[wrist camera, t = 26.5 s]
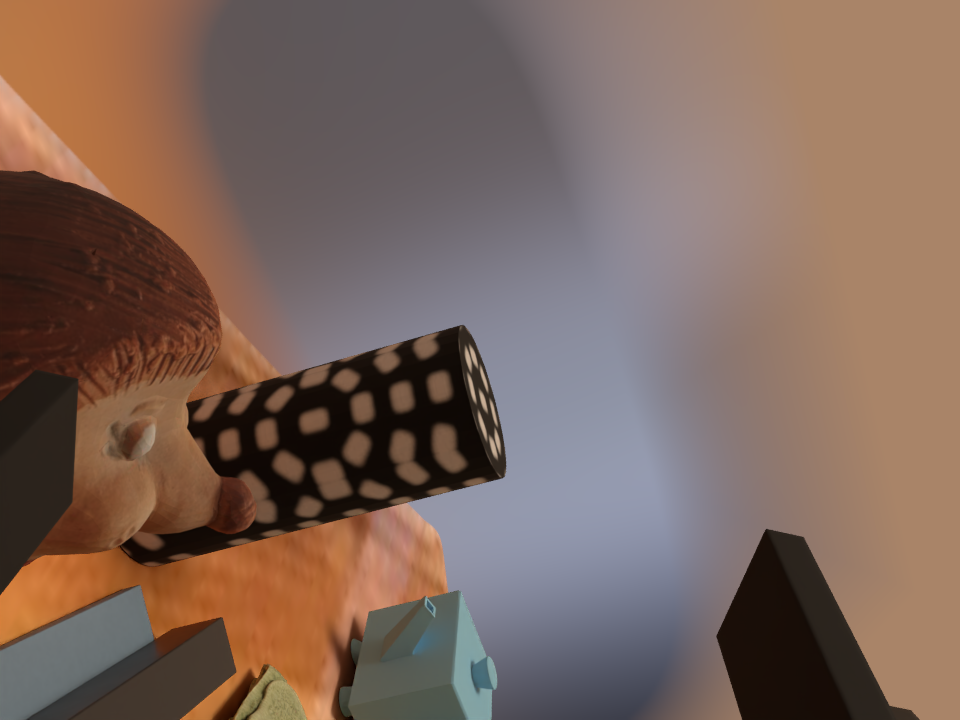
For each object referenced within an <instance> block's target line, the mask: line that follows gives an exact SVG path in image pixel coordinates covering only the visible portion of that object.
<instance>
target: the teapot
mask: <svg viewBox="0 0 960 720" xmlns="http://www.w3.org/2000/svg"><path fill="white" fill-rule="evenodd" d="M351 654H352V658H353V661H354V663H355V665H356V666H357V668H356V672H355V677H354V681H353V686H351V687H341V689H340V692H339V703H340V708H341V711H342V713H343V715H344V716H345V717H349V716H353V718H354V720H491V712H492V710H491V709H492V690H495V689H496V687H497V674H496V669H495V666H494V663H493V661H492V659H491V658H490V656H488V657H487V656H486V654H485V651H484V649H483V646H482V644H481V641H480V638H479V636H478V634H477V631H476V628H475V626H474V623H473V621H472V619H471V616H470V613H469V611H468V608H467V606H466V603H465V601H464V598H463V596H462V593H461V591H454V592H450V593H446V594H442V595H438V596H433V597H429V598H427V597H426V596H425V597H423V598H422V599H421V600H417V601H412V602H408V603H404V604H400V605H396V606H391V607H387V608H383V609H379V610H375V611H370V612H369V614H368V618H367V623H366V627H365V632H364V636H363V641H362V642H360V641H358V640H356V639H352V642H351Z"/></svg>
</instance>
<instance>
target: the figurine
mask: <svg viewBox="0 0 960 720" xmlns="http://www.w3.org/2000/svg"><path fill="white" fill-rule="evenodd" d="M221 338H222V330H221V324H220V316H219V310H218V306H217V303H216V300H215V298H214V296H213V294H212V292H211V290H210V288H209V286H208V284H207V282H206V280H205V278H204V277H203V275H202V274H201V273H200V271H199V270H198V268H197V267H196V265H195V264H194V262H193V261H192V260H191V258H190V257H189V256H188V255H187V254H186V253H185V252H184V251H183V250H182V249H181V248H180V247H179V246H178V245H177V244H176V243H175V242H174V241H173V240H172V239H171V238H170V237H169V236H167V235H166V234H165V233H164V232H163V231H161V230H160V229H159V228H157V227H156V226H154V225H153V224H151V223H150V222H149V221H147V220H146V219H145V218H143V217H142V216H140V215H139V214H137V213H136V212H134V211H133V210H131V209H129V208H128V207H126V206H124V205H122V204H120V203H119V202H117V201H114V200H112V199H110V198H108V197H106V196H104V195H102V194H100V193H98V192H95V191H92V190H89V189H87V188H83V187H81V186H79V185H77V184H74V183H70V182H63V181H60V180H57V179H53V178H50V177H48V176H46V175H44V174H42V173H40V172H36V171H24V172H14V171H0V401H1V400H2V399H4V398H5V397H6V396H7V395H8V394H9V393H10V392H11V391H12V390H14V389H15V388H16V387H17V386H18V385H19V384H20V383H21V382H22V381H24V380H25V379H26V378H27V377H28V376H29V375H30V374H31V373H32V372H34V371H35V370H41V371H45V372H50V373H55V374H59V375H64V376H68V377H73V378H77V379H79V382H78V402H77V422H76V442H75V462H74V482H73V502H72V504H71V505H70V506H69V508H68V509H67V510H66V511H65V513H64V514H63V515H62V517H61V518H60V519H59V520H58V522H57V523H56V524H55V526H54V527H53V528H52V529H51V531H50V532H49V533H48V534H47V536H46V537H45V538H44V540H43V541H42V542H41V543H40V545H39V546H38V547H37V549H36V550H35V551H34V552H33V554H32V555H31V556H30V558H29V559H28V560H27V561H26V563H25V564H24V565H23V566H26V565H28V564H30V563H31V562H32V561H34V560H35V559H37V558H39V557H41V556H44V555H67V554H88V553H96V552H102V551H106V550H111V549H113V548H115V547H117V546H119V545H121V544H122V543H124V542H125V541H126V540H128V539H129V538H130V537H132V536H133V535H134V534H135V533H136V532H137V531H139V532H144V533H150V534H170V533H180V532H183V531H187V530H191V529H194V528H197V527H201V526H205V525H206V526H208V527H210V528H212V529H214V530H216V531H218V532H222V533H225V534H235V533H238V532H241V531H243V530H245V529H247V528H248V527H249V526H250V525H251V524H252V522H253V521H254V519H255V516H256V509H257V504H256V502H255V500H254V497H253V495H252V493H251V490H250V489H249V487H248V486H247V485H246V483H245V482H244V481H242V480H240V479H237V478H232V477H221V476H219V475H218V474H216V473H215V471H214V470H213V468H212V467H211V466H210V464H209V462H208V461H207V459H206V458H205V456H204V454H203V453H202V451H201V450H200V448H199V447H198V445H197V443H196V442H195V440H194V439H193V437H192V436H191V434H190V432H189V431H188V429H187V425H188V409H187V406H186V403H187V399H188V396H189V394H190V393H191V391H192V390H193V389H194V388H195V386H196V385H197V384H198V383H199V382H200V380H201V379H202V378H203V377H204V375H205V374H206V372H207V371H208V369H209V368H210V366H211V364H212V363H213V361H214V358H215V356H216V355H217V353H218V351H219V349H220V345H221Z"/></svg>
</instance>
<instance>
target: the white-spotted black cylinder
mask: <svg viewBox="0 0 960 720" xmlns="http://www.w3.org/2000/svg"><path fill="white" fill-rule="evenodd" d="M186 406H187V409H188V425H187V429H188V431H189V432H190V434H191V436H192V437H193V439H194V440H195V442H196V443H197V445H198V447H199V448H200V450H201V451H202V453H203V454H204V456H205V458H206V459H207V461H208V462H209V464H210V466H211V467H212V468H213V470H214V471H215V473H216V474H218V475H219V476H221V477H232V478H237V479H240V480H242V481H244V482H245V483H246V485H247V486H248V487H249V489H250V490H251V493H252V495H253V497H254V500H255V502H256V504H257V509H256V516H255V519H254V521H253V522H252V524H251V525H250V526H249V527H248V528H247V529H245V530H243V531H241V532H238V533H235V534H225V533H222V532H218V531H216V530H214V529H212V528H210V527H208V526H206V525H205V526H201V527H197V528H194V529H191V530H187V531H183V532H180V533H170V534H150V533H144V532H139V531H137V532H136V533H135V534H134V535H133V536H132V537H130V538H129V539H128V540H126V541H125V542H124V543H122V544H121V545H120V546H121V547H122V549H123V550H124V551H125V552H126V553H127V554H128V555H129V556H130V557H131V558H133V559H134V560H136V561H137V562H139V563H140V564H144V565H147V566H160V565H164V564H168V563H171V562H175V561H179V560H183V559H187V558H191V557H195V556H199V555H203V554H207V553H211V552H215V551H219V550H223V549H226V548H230V547H234V546H238V545H242V544H246V543H250V542H254V541H258V540H262V539H266V538H270V537H274V536H278V535H281V534H285V533H289V532H293V531H297V530H301V529H305V528H309V527H313V526H317V525H321V524H325V523H329V522H333V521H336V520H340V519H344V518H348V517H352V516H356V515H360V514H364V513H368V512H372V511H376V510H380V509H384V508H388V507H391V506H395V505H399V504H403V503H407V502H410V501H415V500H419V499H423V498H427V497H431V496H434V495H439V494H442V493H446V492H450V491H454V490H458V489H462V488H466V487H470V486H474V485H478V484H482V483H486V482H489V481H493V480H498V479H501V478H503V477H505V473H506V455H505V447H504V441H503V434H502V429H501V424H500V420H499V415H498V411H497V407H496V403H495V399H494V395H493V392H492V388H491V385H490V382H489V378H488V375H487V372H486V369H485V366H484V364H483V361H482V358H481V355H480V353H479V350H478V348H477V346H476V343H475V341H474V339H473V337H472V335H471V334H470V332H469V331H468V329H467V328H466V327H465V326H463V325H460V326H457V327H453V328H450V329H446V330H443V331H439V332H436V333H432V334H428V335H425V336H421V337H418V338H414V339H411V340H408V341H404V342H400V343H397V344H393V345H390V346H386V347H383V348H380V349H376V350H372V351H369V352H365V353H361V354H358V355H354V356H351V357H347V358H344V359H341V360H337V361H333V362H330V363H327V364H323V365H320V366H316V367H312V368H309V369H305V370H302V371H298V372H295V373H291V374H288V375H284V376H280V377H277V378H273V379H270V380H266V381H263V382H259V383H256V384H252V385H249V386H245V387H242V388H238V389H235V390H231V391H227V392H224V393H220V394H217V395H213V396H210V397H206V398H203V399H199V400H196V401H192V402H189V403H186Z"/></svg>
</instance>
